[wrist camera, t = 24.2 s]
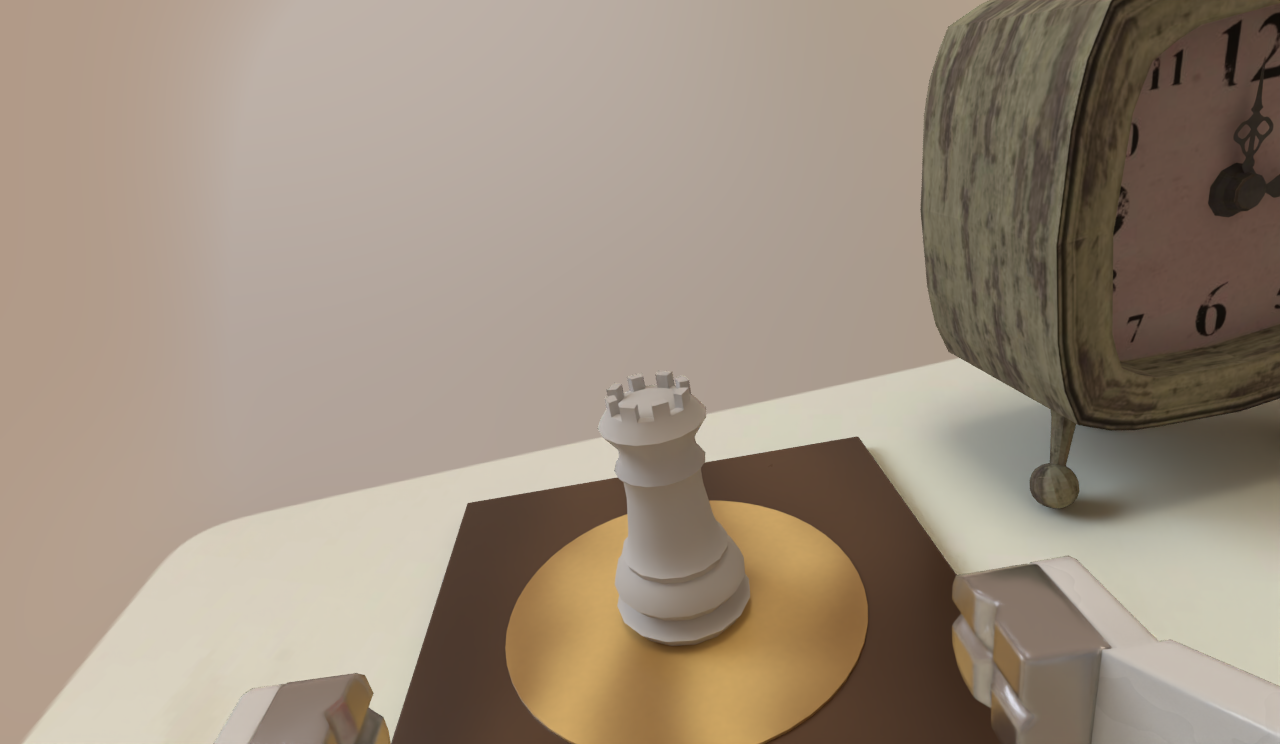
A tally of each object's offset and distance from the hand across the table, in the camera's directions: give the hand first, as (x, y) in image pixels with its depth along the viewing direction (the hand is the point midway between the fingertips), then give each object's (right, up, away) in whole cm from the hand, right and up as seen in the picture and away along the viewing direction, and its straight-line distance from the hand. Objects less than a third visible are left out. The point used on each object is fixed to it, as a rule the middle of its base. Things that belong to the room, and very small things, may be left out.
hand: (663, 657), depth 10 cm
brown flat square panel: (+1, -4, +14) cm, 15 cm away
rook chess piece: (+1, -4, +14) cm, 15 cm away
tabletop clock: (+20, +1, +20) cm, 28 cm away
